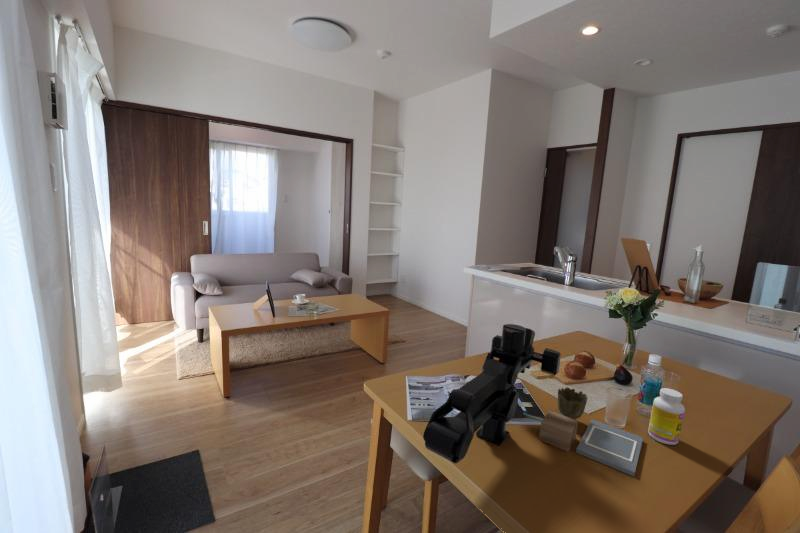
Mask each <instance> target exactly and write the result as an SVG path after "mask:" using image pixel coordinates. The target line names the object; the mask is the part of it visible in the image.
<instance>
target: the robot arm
mask: <svg viewBox="0 0 800 533" xmlns="http://www.w3.org/2000/svg"><path fill="white" fill-rule="evenodd" d="M535 336H536V331H535V330H533V329H531V328H528V327H527V328H526V327H524V326H522V325H519V324H513V323H506V324H503V325H502V332H501V335H499V334H498V335H496V336H494V337H493V338H492V340H491V348H490V351H489V352H487V355H486V358H485V360H484V362H483V365H482V367H481V372H480V373H479V374H478V375H476V376H475V377H473V378H471V380H469V381H468V382H466V383H465V384H464V385H462V386H461V387H459V388H456V389H455V388H454V389H453V390H451V391H450V393H449V396H448V398H447V400H446V402H444V403H443V404H442V405H441V406H439V407H438V408H436V409H435V410H434V411H433V412H432V414H431V416H430V418H429V420H428V422H427V425H426V427H425V429H424V431H423V435H422V437H423V438H422V439H423V441H424V446H425V448H426V449H427V450H429V451H430V452H432V453H434V454H435V455H437V456H440V457H441V458H442V459H445V460H447V461H449V462H450V463H454V464H458V463H460V462H461V461H462V460H463V459H464V458H465V457H466V455H467V453H468V451H469V448H470V446H471V443H472V441H473V438H474V436H477V437H480V438H481V439H484V440H486V441H488V442H490V443H492V444H495V445H496V446H502V444H503V443H504V442H505V440H507V438H508V437H509V436H510V431H507V430H506V425H507V423H509V422H510V421H511V420H512V418H514V416H516V415H515V414H516V411H517V406H518V401H519V396H520V394H519V392H517V386H514V385H515V384H516V382H517V379H518V375H519V374H525V373H526V369H528V370H529V369H530V368H531V363H532V362H533V361H534V362H537V363H541V365H540V366H541V367H540V372H541V373H545V374H548V375H551V376H556V375H557V374H558V373H559V372H560V364H561V355H562V354H561V352H560V351H558V350H554V349H551V348H547V347H545V349H544V350H543V353H542V352H539V351H535V347H533V343H534V341H535V340H534V339H535ZM495 358H496V359H495ZM454 410H456V411H459V412H458V413H457V414H456V415H454V416H448V415H449V413H451V412H452V411H454Z"/></svg>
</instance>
